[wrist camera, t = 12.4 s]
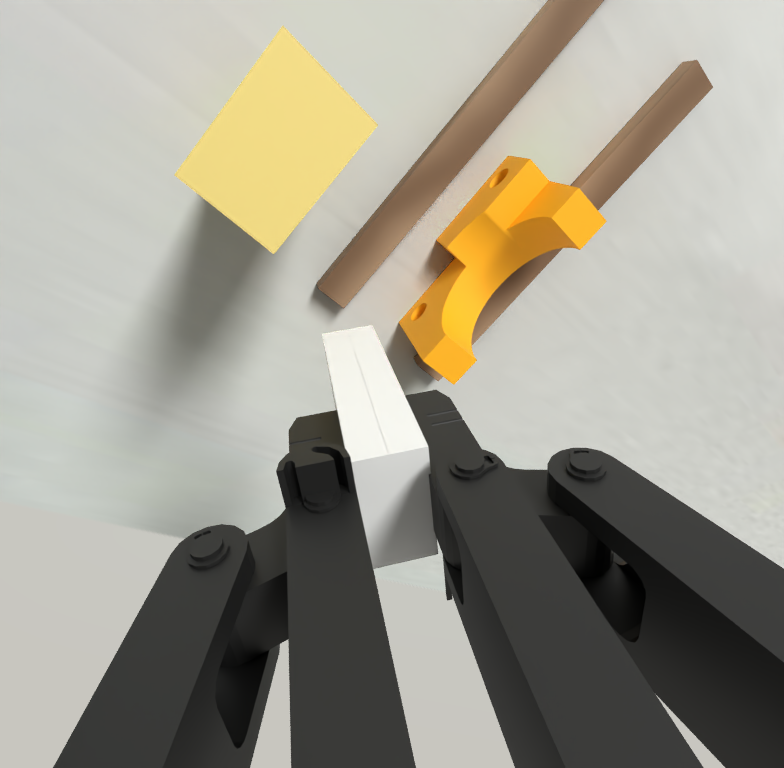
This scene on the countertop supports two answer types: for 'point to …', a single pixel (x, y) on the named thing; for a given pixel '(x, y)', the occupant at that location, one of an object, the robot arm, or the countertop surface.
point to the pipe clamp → (493, 256)
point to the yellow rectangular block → (277, 143)
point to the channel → (476, 123)
